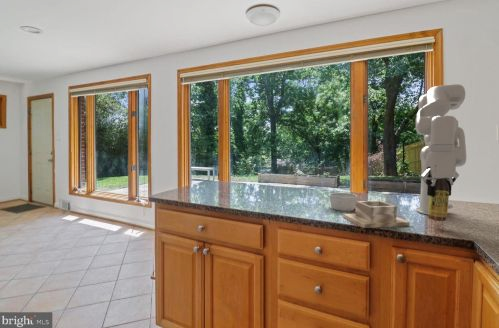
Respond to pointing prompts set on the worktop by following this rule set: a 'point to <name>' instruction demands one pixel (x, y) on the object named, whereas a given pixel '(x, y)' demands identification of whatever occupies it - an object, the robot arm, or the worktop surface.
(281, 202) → the worktop surface
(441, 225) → the worktop surface
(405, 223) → the bottle caddy
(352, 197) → the ramekin
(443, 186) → the sauce bottle
